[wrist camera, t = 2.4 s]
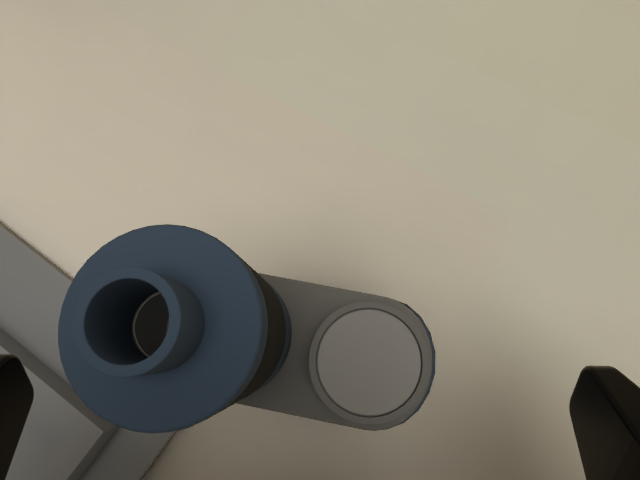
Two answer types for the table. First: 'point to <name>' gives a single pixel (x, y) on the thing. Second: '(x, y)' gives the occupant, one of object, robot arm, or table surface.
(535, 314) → the table surface
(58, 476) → the dock
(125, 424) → the vaping device
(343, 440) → the table surface
